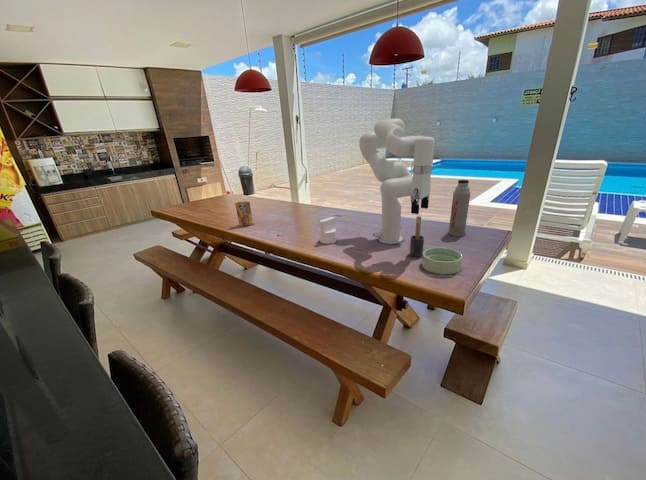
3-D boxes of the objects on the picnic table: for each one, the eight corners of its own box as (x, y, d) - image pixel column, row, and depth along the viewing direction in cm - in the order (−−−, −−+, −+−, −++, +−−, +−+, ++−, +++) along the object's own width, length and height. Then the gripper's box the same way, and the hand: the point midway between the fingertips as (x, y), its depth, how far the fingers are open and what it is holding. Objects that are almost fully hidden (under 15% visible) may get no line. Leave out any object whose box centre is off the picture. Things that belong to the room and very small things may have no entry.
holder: (410, 258, 139) (411, 239, 136) (409, 253, 145) (410, 235, 141) (423, 258, 138) (424, 239, 135) (421, 253, 144) (423, 235, 140)
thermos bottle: (452, 236, 160) (459, 182, 148) (445, 231, 168) (452, 179, 155) (467, 235, 161) (475, 181, 149) (460, 230, 168) (467, 178, 156)
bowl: (424, 275, 124) (425, 261, 121) (419, 259, 137) (420, 247, 135) (464, 276, 121) (466, 262, 119) (456, 260, 135) (457, 247, 132)
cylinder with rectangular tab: (328, 236, 171) (327, 215, 166) (340, 240, 165) (339, 218, 160) (316, 241, 166) (315, 219, 160) (328, 245, 160) (327, 222, 155)
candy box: (253, 222, 203) (249, 200, 197) (253, 224, 200) (249, 201, 193) (239, 224, 202) (235, 201, 195) (239, 226, 198) (234, 202, 192)
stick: (414, 255, 141) (416, 217, 133) (413, 253, 142) (416, 216, 135) (418, 255, 140) (421, 217, 132) (418, 253, 142) (421, 216, 134)
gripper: (422, 166, 133) (419, 205, 140) (404, 172, 121) (402, 214, 128) (439, 167, 129) (435, 207, 136) (422, 173, 117) (419, 217, 124)
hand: (419, 210), depth 132 cm, fingers open, 9 cm apart
